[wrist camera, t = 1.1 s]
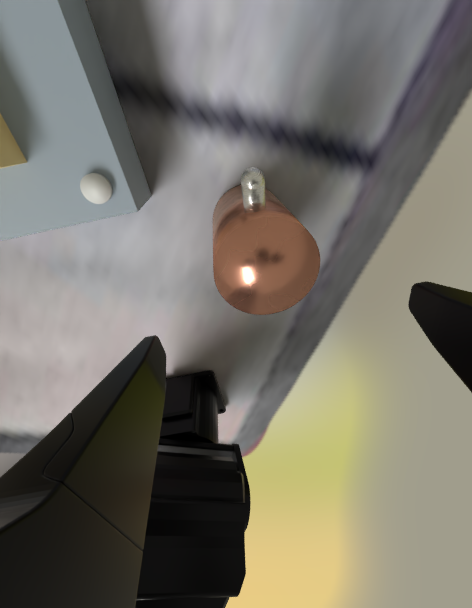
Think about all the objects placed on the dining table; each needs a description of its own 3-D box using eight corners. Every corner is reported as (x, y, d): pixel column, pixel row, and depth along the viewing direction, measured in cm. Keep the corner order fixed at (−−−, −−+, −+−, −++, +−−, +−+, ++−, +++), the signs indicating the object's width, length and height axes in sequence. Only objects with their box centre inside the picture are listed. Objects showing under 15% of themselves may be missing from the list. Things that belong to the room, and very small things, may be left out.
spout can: (285, 247, 21) (320, 304, 14) (221, 260, 21) (225, 322, 14) (275, 145, 17) (318, 155, 10) (197, 162, 17) (189, 183, 10)
